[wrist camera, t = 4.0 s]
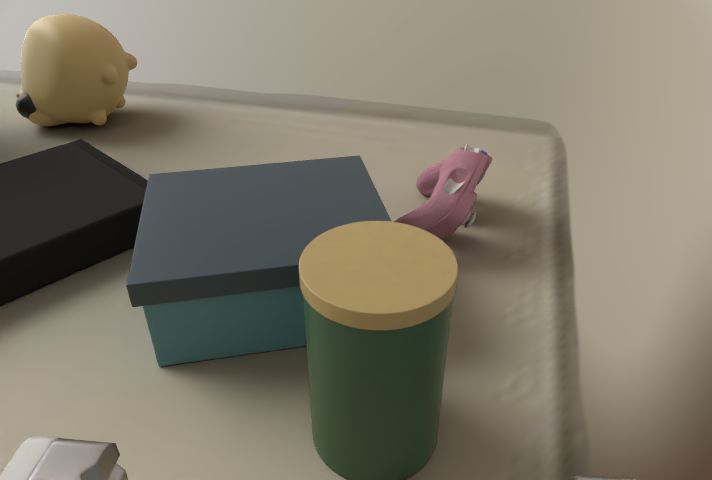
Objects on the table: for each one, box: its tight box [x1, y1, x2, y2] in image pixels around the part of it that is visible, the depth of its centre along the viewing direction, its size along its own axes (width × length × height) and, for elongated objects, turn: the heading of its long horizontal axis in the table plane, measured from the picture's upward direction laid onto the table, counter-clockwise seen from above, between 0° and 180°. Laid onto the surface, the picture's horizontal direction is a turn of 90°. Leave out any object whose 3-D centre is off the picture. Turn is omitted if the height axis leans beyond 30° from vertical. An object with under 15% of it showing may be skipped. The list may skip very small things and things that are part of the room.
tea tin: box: [299, 221, 458, 480], centre depth 26 cm, size 6×6×10 cm
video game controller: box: [394, 144, 492, 240], centre depth 42 cm, size 10×5×7 cm, turn 160°
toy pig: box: [16, 14, 137, 126], centre depth 59 cm, size 10×12×11 cm
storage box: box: [126, 156, 391, 366], centre depth 36 cm, size 14×12×6 cm
